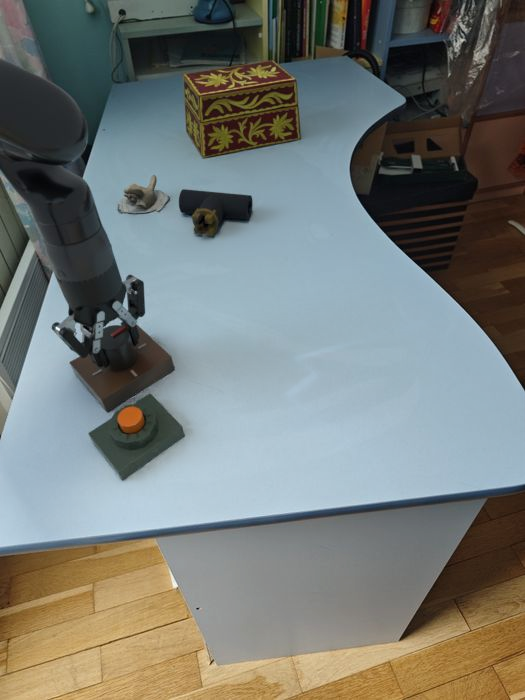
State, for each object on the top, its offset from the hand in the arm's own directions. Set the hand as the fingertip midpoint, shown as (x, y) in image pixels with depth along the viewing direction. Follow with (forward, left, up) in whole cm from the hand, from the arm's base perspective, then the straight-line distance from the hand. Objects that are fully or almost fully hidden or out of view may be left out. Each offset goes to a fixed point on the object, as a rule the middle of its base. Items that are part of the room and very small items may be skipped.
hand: (118, 353), depth 72 cm
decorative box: (+69, +53, -5) cm, 87 cm away
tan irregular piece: (+30, +42, -5) cm, 52 cm away
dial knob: (0, 0, -1) cm, 1 cm away
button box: (-5, -12, -4) cm, 14 cm away
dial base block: (0, 0, -4) cm, 4 cm away
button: (-5, -12, -1) cm, 13 cm away
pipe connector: (+36, +24, -5) cm, 44 cm away
